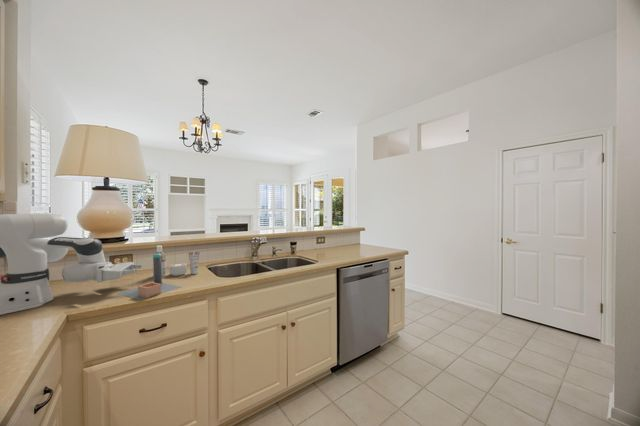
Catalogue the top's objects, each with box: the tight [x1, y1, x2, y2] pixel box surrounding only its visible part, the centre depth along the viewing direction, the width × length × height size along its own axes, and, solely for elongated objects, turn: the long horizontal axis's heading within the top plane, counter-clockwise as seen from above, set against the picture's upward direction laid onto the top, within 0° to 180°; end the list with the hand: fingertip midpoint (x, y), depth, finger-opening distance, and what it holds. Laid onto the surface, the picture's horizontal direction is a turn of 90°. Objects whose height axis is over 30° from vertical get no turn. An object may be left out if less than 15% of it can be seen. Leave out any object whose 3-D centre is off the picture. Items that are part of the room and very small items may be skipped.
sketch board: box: [117, 282, 182, 301], centre depth 123 cm, size 20×19×1 cm
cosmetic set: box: [152, 245, 201, 278], centre depth 153 cm, size 25×9×19 cm, turn 114°
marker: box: [152, 253, 163, 284], centre depth 132 cm, size 4×4×16 cm
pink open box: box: [137, 281, 162, 299], centre depth 117 cm, size 7×7×4 cm
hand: (138, 268), depth 129 cm, fingers open, 8 cm apart
